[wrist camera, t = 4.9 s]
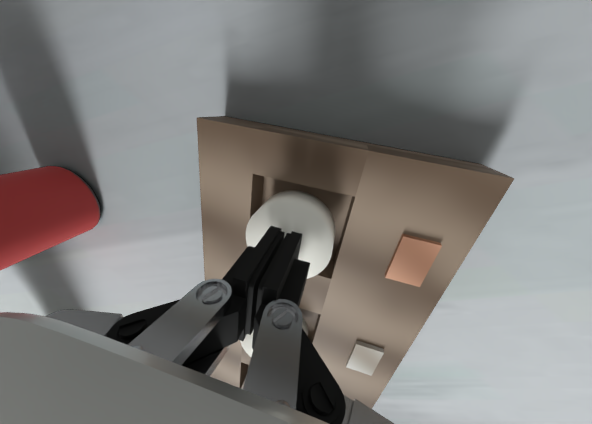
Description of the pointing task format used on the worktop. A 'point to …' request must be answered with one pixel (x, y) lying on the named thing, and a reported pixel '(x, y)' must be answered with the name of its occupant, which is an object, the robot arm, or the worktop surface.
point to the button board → (347, 236)
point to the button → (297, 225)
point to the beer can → (42, 211)
